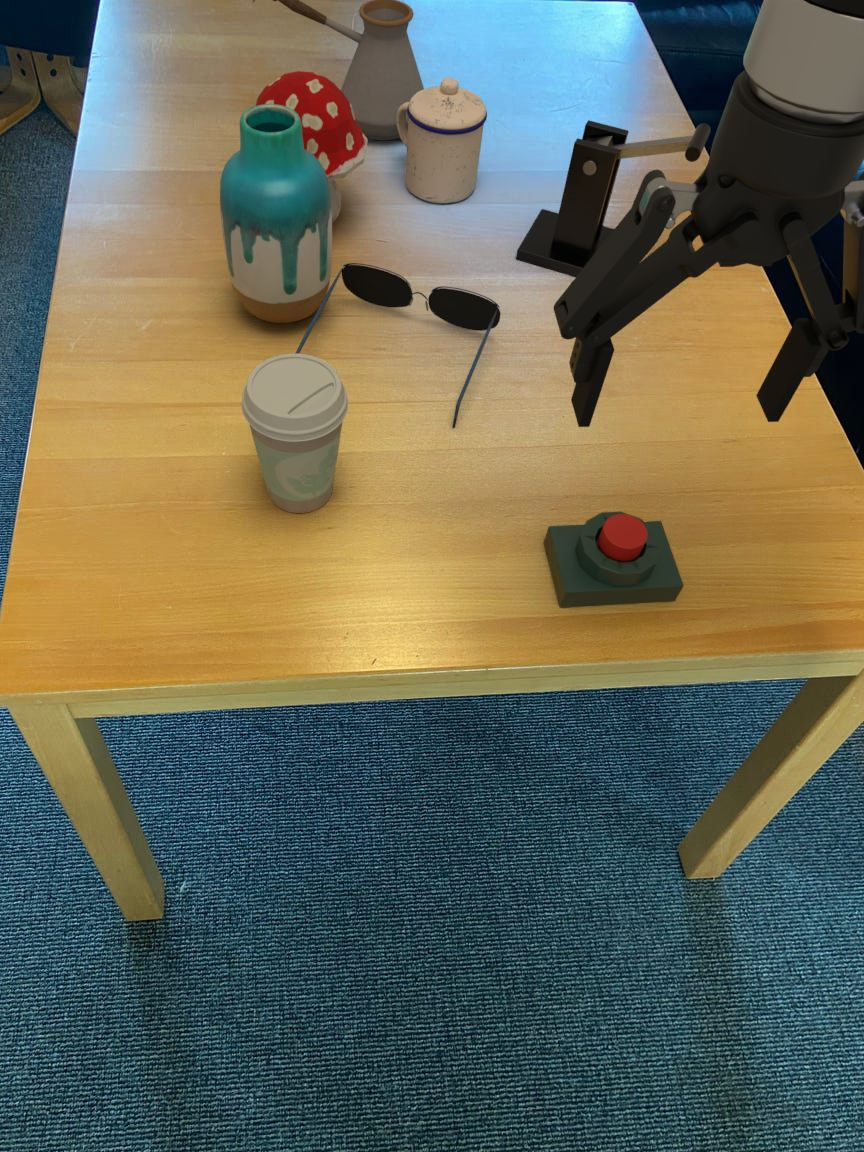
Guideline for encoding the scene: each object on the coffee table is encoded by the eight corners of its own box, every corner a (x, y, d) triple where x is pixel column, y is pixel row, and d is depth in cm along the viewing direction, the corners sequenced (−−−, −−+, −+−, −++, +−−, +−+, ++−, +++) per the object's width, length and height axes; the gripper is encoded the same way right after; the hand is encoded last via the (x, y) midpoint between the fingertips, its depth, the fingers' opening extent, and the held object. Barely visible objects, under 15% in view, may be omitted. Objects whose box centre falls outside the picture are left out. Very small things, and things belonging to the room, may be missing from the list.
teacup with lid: (492, 186, 105) (507, 83, 95) (442, 215, 101) (452, 111, 91) (421, 146, 109) (429, 44, 99) (370, 172, 105) (373, 68, 95)
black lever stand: (629, 243, 100) (664, 129, 89) (609, 286, 95) (643, 172, 84) (539, 218, 102) (563, 103, 91) (515, 259, 97) (537, 143, 86)
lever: (710, 142, 86) (710, 116, 84) (700, 166, 84) (699, 140, 82) (592, 156, 92) (589, 132, 90) (578, 179, 89) (576, 155, 88)
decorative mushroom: (254, 258, 95) (240, 116, 82) (240, 187, 102) (226, 47, 90) (377, 248, 97) (382, 108, 84) (355, 179, 104) (357, 41, 92)
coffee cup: (262, 533, 74) (250, 431, 64) (244, 462, 79) (230, 356, 69) (358, 515, 76) (360, 413, 66) (335, 447, 80) (334, 341, 70)
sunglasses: (498, 335, 90) (504, 298, 85) (454, 442, 84) (458, 408, 79) (344, 294, 92) (342, 256, 88) (292, 395, 86) (286, 359, 82)
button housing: (653, 536, 76) (668, 506, 73) (675, 601, 72) (691, 572, 69) (543, 542, 75) (552, 512, 72) (559, 607, 71) (570, 579, 68)
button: (635, 526, 72) (641, 512, 70) (646, 560, 70) (653, 547, 68) (593, 528, 71) (598, 514, 70) (603, 562, 70) (609, 549, 68)
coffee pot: (425, 104, 115) (435, -30, 102) (426, 150, 108) (438, 14, 96) (265, 96, 114) (255, -40, 101) (257, 142, 108) (246, 4, 95)
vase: (226, 338, 88) (200, 147, 72) (238, 274, 93) (217, 84, 77) (329, 343, 88) (327, 155, 72) (335, 279, 94) (334, 91, 77)
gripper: (1014, 51, 45) (824, 371, 63) (553, 47, 44) (492, 378, 61) (1087, 125, 41) (862, 444, 59) (583, 125, 40) (508, 454, 57)
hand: (674, 411), depth 60 cm, fingers open, 13 cm apart
